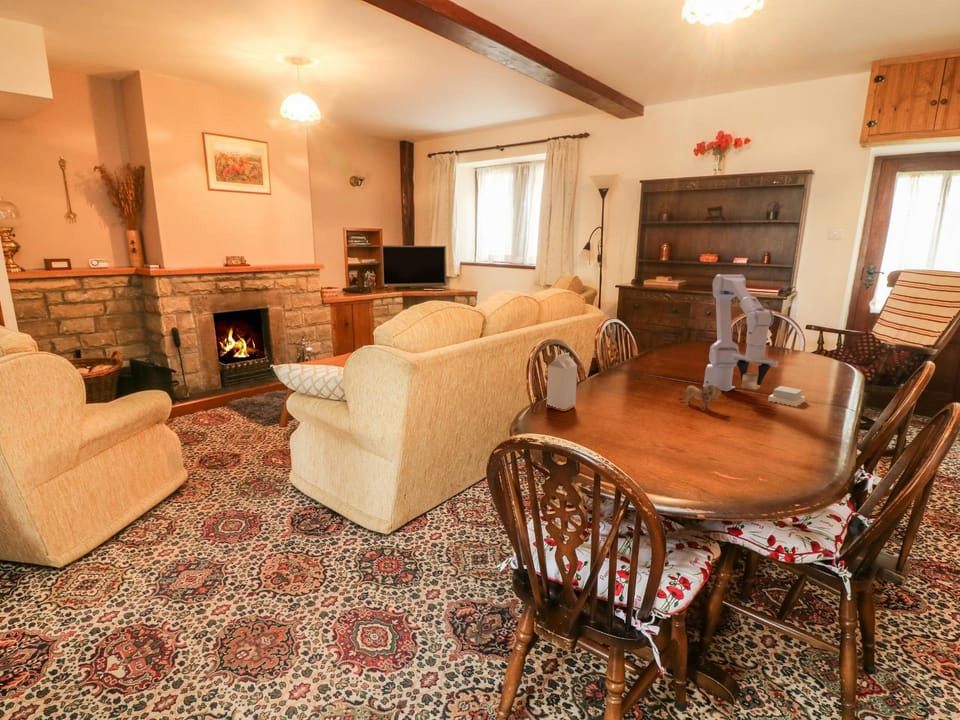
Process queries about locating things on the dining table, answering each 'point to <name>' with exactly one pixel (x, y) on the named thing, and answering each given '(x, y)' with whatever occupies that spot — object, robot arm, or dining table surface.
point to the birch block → (750, 381)
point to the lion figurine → (702, 394)
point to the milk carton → (562, 382)
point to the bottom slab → (787, 400)
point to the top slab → (787, 393)
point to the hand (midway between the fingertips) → (751, 383)
